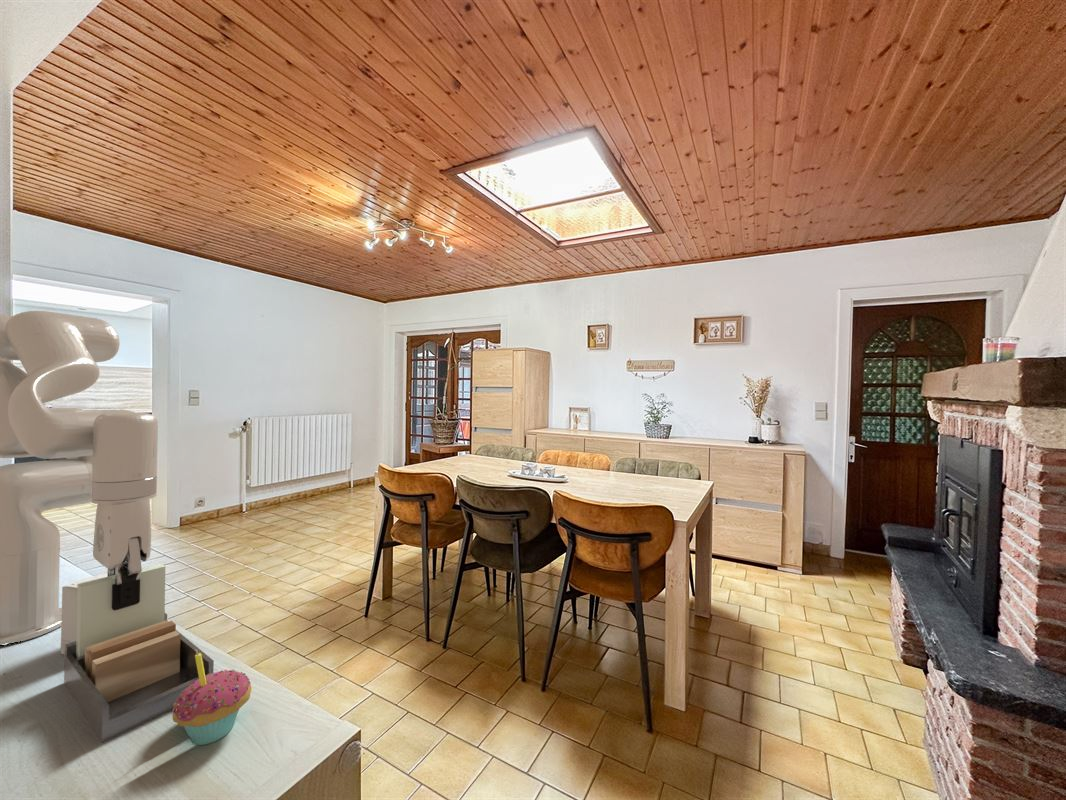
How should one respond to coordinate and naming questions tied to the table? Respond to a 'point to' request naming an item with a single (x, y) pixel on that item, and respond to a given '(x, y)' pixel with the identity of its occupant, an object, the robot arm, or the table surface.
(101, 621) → the grey flat panel
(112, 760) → the table surface
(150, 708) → the bin
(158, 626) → the offcuts
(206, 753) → the table surface
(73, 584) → the supplement box
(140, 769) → the table surface
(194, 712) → the cupcake
